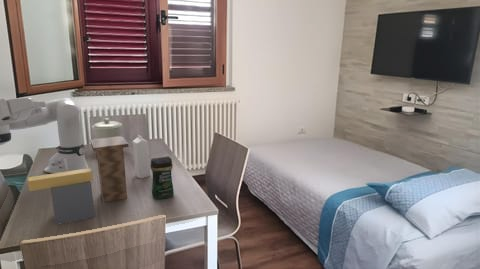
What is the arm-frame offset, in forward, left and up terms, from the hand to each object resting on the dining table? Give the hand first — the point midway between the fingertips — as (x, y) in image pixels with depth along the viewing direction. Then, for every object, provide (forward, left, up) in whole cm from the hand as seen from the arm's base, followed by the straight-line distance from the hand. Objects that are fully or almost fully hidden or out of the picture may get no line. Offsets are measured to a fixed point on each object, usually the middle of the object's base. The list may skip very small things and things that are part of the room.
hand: (43, 107), depth 133 cm
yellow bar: (+7, -4, -30) cm, 31 cm away
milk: (+15, +45, -44) cm, 65 cm away
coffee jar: (+36, +24, -44) cm, 62 cm away
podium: (+9, -2, -44) cm, 45 cm away
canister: (-27, +81, -44) cm, 96 cm away
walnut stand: (+14, +19, -44) cm, 50 cm away
